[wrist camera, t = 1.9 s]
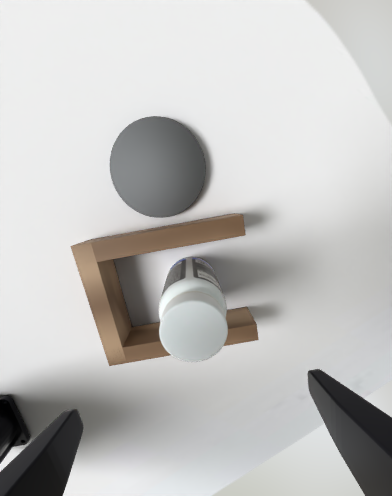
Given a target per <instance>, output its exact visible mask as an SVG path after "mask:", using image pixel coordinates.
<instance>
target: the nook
mask: <svg viewBox="0 0 392 496" xmlns="http://www.w3.org/2000/svg"><path fill="white" fill-rule="evenodd" d="M244 235H245V228H244V220H243V215H240V214H235V213H234V214H229V215H223V216H218V217H212V218H207V219H201V220H196V221H190V222H184V223H179V224H173V225H168V226H162V227H157V228H151V229H146V230H140V231H135V232H129V233H124V234H118V235H113V236H107V237H102V238H96V239H91V240H87V241H85V242H82V243H79V244H76V245H73V246H71V249H72V252H73V255H74V258H75V261H76V264H77V268H78V271H79V274H80V277H81V280H82V283H83V286H84V289H85V292H86V295H87V298H88V301H89V305H90V308H91V311H92V314H93V317H94V320H95V323H96V326H97V329H98V332H99V335H100V338H101V342H102V345H103V348H104V351H105V354H106V357H107V360H108V363H109V366H112V365H118V364H124V363H129V362H135V361H141V360H146V359H152V358H158V357H164V356H169V355H170V354H169V353H168V352H167V351H166V350H165V348H164V347H163V345H162V343H161V340H160V335H159V327H160V322H159V323H153V324H147V325H142V326H136V327H132V325H131V321H130V318H129V314H128V311H127V307H126V304H125V300H124V296H123V293H122V289H121V286H120V282H119V279H118V275H117V271H116V268H115V264H114V261H113V259H116V258H122V257H128V256H133V255H139V254H144V253H150V252H155V251H161V250H166V249H172V248H177V247H183V246H189V245H194V244H200V243H205V242H211V241H216V240H222V239H227V238H233V237H238V236H244ZM226 321H227V326H228V334H227V339H226V341H225V343H224V345H223V346H226V345H232V344H238V343H243V342H249V341H255V340H258V332H257V324H256V322H255V321H254V319H253V317H252V315H251V313H250V312H249V310H248V308H247V307H243V308H238V309H232V310H227V313H226Z"/></svg>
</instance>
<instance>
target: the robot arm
mask: <svg viewBox="0 0 392 496" xmlns="http://www.w3.org/2000/svg"><path fill="white" fill-rule="evenodd" d="M308 386H309V391H310V394H311V396H312V398H313V400H314V402H315V404H316V406H317V409H318V411H319V413H320V415H321V417H322V419H323V421H324V423H325V425H326V427H327V429H328V431H329V433H330V435H331V437H332V439H333V441H334V443H335V445H336V446H337V448H338V450H339V452H340V454H341V455H342V457H343V459H344V460H345V462H346V464H347V466H348V467H349V469H350V471H351V472H352V474H353V476H354V477H355V479H356V481H357V482H358V484H359V486H360V488H361V489H362V491H363V493H364V494H365V496H392V417H390V416H389V415H387V414H386V413H384V412H383V411H381V410H380V409H378V408H377V407H375V406H374V405H372V404H371V403H369V402H368V401H366V400H365V399H363V398H362V397H360V396H359V395H357V394H356V393H354V392H353V391H351V390H350V389H348V388H347V387H345V386H344V385H342V384H341V383H340V382H338V381H337V380H335V379H334V378H332V377H331V376H329V375H328V374H326V373H325V372H323V371H322V370H320V369H315V370H309V371H308ZM82 433H83V422H82V420H81V417H80V415H79V412H78V410H77V409H71V410H66V411H64V412H63V413H62V414H61V415H60V416H59V417H58V418H57V419H56V420H54V421H53V422H52V423H51V424H50V425H49V426H48V427H47V428H46V429H45V430H44V431H43V432H42V433H41V434H40V435H39V436H38V437H37V438H36V439H34V440H33V441H32V442H31V443H30V444H29V445H28V446H27V447H26V448H25V449H24V450H23V451H22V452H21V453H20V454H19V455H18V456H17V457H16V458H14V459H13V460H12V461H11V462H10V463H9V464H8V465H7V466H6V467H5V468H4V469H3V470H2V471H1V472H0V496H63V493H64V490H65V487H66V484H67V481H68V478H69V475H70V472H71V468H72V465H73V462H74V459H75V455H76V452H77V449H78V446H79V442H80V439H81V436H82ZM29 440H30V435H29V433H28V431H27V429H26V427H25V425H24V423H23V420H22V418H21V416H20V414H19V412H18V410H17V408H16V406H15V403H14V401H13V399H12V398H11V397H10V396H1V397H0V463H1V462H2V461H3V459H4V458H5V457H6V455H7V454H8V453H9V451H10V450H11V448H12V447H14V446H20V445H25V444H27V443H28V441H29Z"/></svg>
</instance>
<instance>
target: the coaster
mask: <svg viewBox="0 0 392 496" xmlns="http://www.w3.org/2000/svg"><path fill="white" fill-rule="evenodd" d="M110 173H111V178H112V181H113V184H114V186H115V189H116V191H117V192H118V194H119V196H120V197H121V198H122V199H123V201H124V202H125V203H126V204H127V205H128V206H130V207H131V208H132V209H134V210H135V211H137V212H139V213H141V214H144V215H147V216H150V217H169V216H173V215H176V214H178V213H180V212H182V211H184V210H185V209H187V208H188V207H189V206H190V205H191V204H192V203H193V202H194V201H195V200H196V198H197V197H198V195H199V193H200V191H201V189H202V187H203V183H204V179H205V159H204V155H203V152H202V149H201V147H200V145H199V143H198V141H197V139H196V138H195V136H194V135H193V134H192V133H191V132H190V131H189V130H188V129H187V128H186V127H185V126H183V125H182V124H180V123H178V122H176V121H174V120H172V119H169V118H165V117H157V116H153V117H146V118H142V119H139V120H137V121H135V122H133V123H131V124H130V125H129V126H127V127H126V128H125V129H124V130H123V131H122V132H121V133H120V135H119V136H118V138H117V139H116V141H115V143H114V145H113V148H112V151H111V157H110Z"/></svg>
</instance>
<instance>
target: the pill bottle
mask: <svg viewBox="0 0 392 496" xmlns="http://www.w3.org/2000/svg"><path fill="white" fill-rule="evenodd" d="M226 313H227V307H226V300H225V298H224V295H223V293H222V290H221V288H220V285H219V282H218V280H217V278H216V275H215V272H214V270H213V268H212V267H211V266H210V265H209V264H208V263H207V262H206V261H204V260H203V259H200V258H196V257H188V258H183V259H181V260H179V261H177V262H176V263H175V264H174V265H173V266H172V267H171V269H170V271H169V273H168V276H167V279H166V282H165V286H164V289H163V292H162V296H161V299H160V303H159V318H160V321H161V322H160V327H159V335H160V340H161V343H162V345H163V347H164V348H165V350H166V351H167V352H168V353H169V354H170V355H172V356H173V357H175V358H177V359H179V360H183V361H187V362H198V361H203V360H206V359H208V358H210V357H212V356H214V355H215V354H216V353H218V352H219V351H220V349H221V348H222V347H223V345H224V343H225V341H226V339H227V334H228V326H227V321H226Z"/></svg>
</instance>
